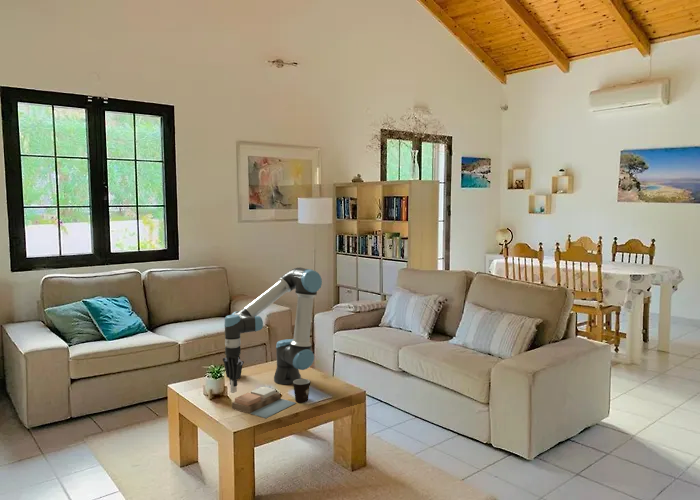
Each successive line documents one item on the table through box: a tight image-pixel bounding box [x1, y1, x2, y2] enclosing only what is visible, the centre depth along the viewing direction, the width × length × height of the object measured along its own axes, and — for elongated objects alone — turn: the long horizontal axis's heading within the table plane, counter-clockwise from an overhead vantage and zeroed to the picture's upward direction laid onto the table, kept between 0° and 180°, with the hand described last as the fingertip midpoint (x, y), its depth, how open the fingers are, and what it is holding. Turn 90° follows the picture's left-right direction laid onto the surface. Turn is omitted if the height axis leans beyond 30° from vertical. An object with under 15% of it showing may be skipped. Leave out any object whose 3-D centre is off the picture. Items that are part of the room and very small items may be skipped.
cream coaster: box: [250, 386, 277, 399], centre depth 278 cm, size 9×9×2 cm
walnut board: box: [231, 392, 281, 414], centre depth 273 cm, size 22×12×3 cm, turn 146°
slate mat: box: [250, 398, 297, 419], centre depth 267 cm, size 22×10×1 cm, turn 146°
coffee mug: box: [293, 378, 311, 404], centre depth 277 cm, size 12×9×10 cm
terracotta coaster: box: [234, 392, 261, 406], centre depth 269 cm, size 9×9×2 cm
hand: (233, 391), depth 274 cm, fingers closed
